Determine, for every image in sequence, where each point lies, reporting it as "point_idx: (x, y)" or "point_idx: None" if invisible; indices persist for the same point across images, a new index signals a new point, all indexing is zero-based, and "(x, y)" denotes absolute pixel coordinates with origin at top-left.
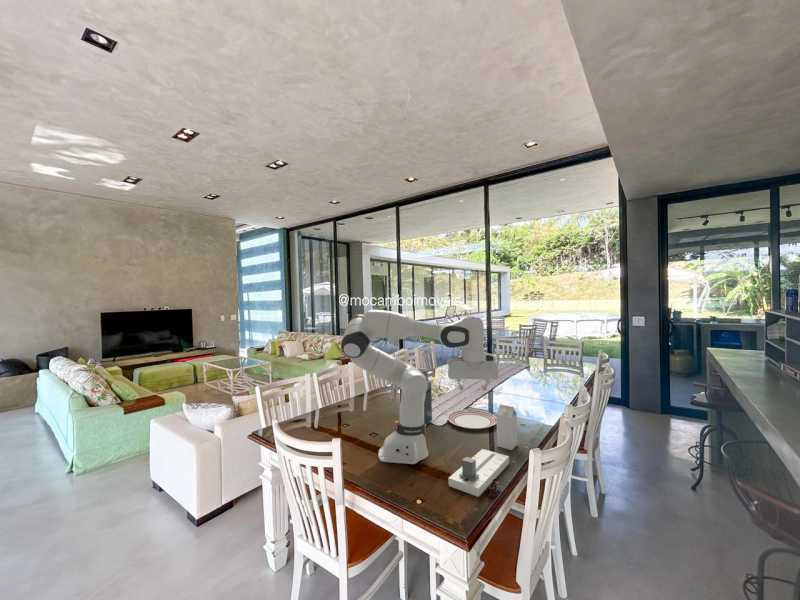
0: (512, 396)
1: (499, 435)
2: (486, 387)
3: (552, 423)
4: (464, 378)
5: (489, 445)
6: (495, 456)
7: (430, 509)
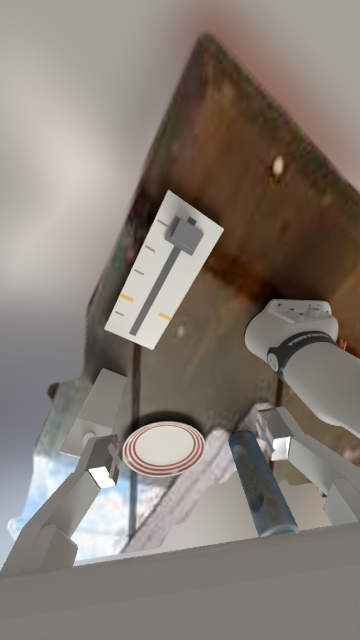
0: (98, 526)
1: (118, 390)
2: (82, 458)
3: (34, 460)
4: (333, 541)
5: (140, 378)
6: (129, 325)
7: (260, 135)
